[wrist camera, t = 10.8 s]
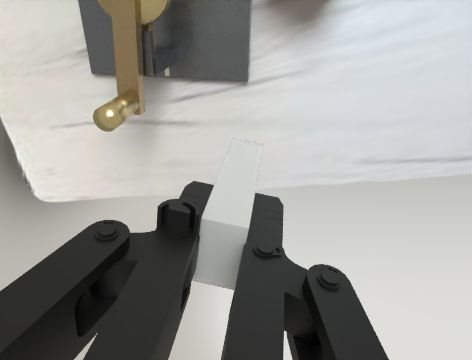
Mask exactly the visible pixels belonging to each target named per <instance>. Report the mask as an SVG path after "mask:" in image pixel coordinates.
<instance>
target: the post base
mask: <svg viewBox="0 0 472 360" xmlns="http://www.w3.org/2000/svg"><path fill="white" fill-rule="evenodd" d="M78 1H79V7H80V12H81V17H82V23H83V28H84V34H85V39H86V44H87V50H88V55H89V61H90V66H91V72H92V74H110V75H116V65H115V52H114V40H113V27H112V17H110V16H109V15H108V14H107V13H106V12H105V11H104V10H103V8H102V7H101V6H100V4H99V3H98V1H97V0H78ZM251 9H252V0H172V2H171V4H170V7H169V8H168V10H167V12H166V13H165V14H164V15H163V16H162V17H161V18H160V19H158V20H156V21H154V22H151V23H154V24H155V40H156V50H155V51H154V40H153V30H142V48H143V74H144V76H150V77H170V78H190V79H211V80H231V81H248V80H249V66H250V37H251Z"/></svg>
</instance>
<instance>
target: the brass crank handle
mask: <svg viewBox="0 0 472 360" xmlns="http://www.w3.org/2000/svg"><path fill="white" fill-rule="evenodd" d="M97 1H98V3H99V4H100V6H101V7H102V8H103V10H104V11H105V12H106V13H107V14H108V15H109V16H110V17H112V27H113V40H114V52H115V65H116V78H117V91H118V96H117V97H116V98H114V99H112V100H111V101H109V102H108V103H106V104H104V105H103V106H101V107H99V108H98V109H96V110H95V112H94V114H93V119H94V122H95V124H96V125H97V127H98V128H100V129H101V130H103V131H107V132H109V131H113V130H114V129H115V128H117V127H118V126H119V125H121V124H122V123H123V122H124V121H126V120H127V119H128V118H129V117H131V116H132V115H133V114H135V115H141V114H142V113H143V112H145V99H144V74H143V48H142V30H153V40H154V51H155V50H156V40H155V24H154V23H151V22H154V21H156V20H158V19H160V18H161V17H162V16H163V15H164V14H165V13H166V12H167V10H168V8H169V7H170V4H171V2H172V0H97Z"/></svg>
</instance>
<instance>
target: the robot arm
mask: <svg viewBox="0 0 472 360" xmlns="http://www.w3.org/2000/svg"><path fill="white" fill-rule="evenodd" d="M262 150H263V144H258V143H253V142H248V141H243V140H238V139H233V138H232V141H231V144H230V146H229V149H228V151H227V154H226V156H225V159H224V161H223V164H222V167H221V169H220V172H219V174H218V177H217V179H216V182H215V184H214V185H211V184H206V183H201V182H196V181H193V182H191V183H190V184H188V185H187V186H185V188H184V190H183V192H182V194H181V196H180V198H179V199H171V200H167V201H165V202H162V203H161V204H160V205H159V206H158V213H157V228H156V230H155V231H151V232H145V233H130V231H129V229H128V227H127V225H125V224H124V223H122V222H119V221H115V220H103V221H99V222H96V223H94V224H92V225H90V226H88V227H87V228H86V229H85V230H83V231H82V232H80V233H79V234H78V235H77V236H75V237H73V238H72V239H71V240H69V241H68V242H67V243H65V244H64V245H63V246H61V247H60V248H58V249H57V250H56V251H55V252H53V253H52V254H50V255H49V256H48V257H46V258H45V259H44V260H42V261H41V262H40V263H38V264H37V265H35V266H34V267H33V268H31V269H30V270H29V271H27V272H26V273H25V274H23V275H22V276H20V277H19V278H18V279H16V280H15V281H14V282H12V283H11V284H10V285H8V286H7V287H5V288H4V289H3V290H1V291H0V360H74V359H75V358H76V356H77V355H78V354H79V353H80V352H81V351H82V350H83V348H84V347H85V346H86V345H87V344H88V343H89V342H90V341H91V339H92V338H93V337H94V336H95V335H96V333H98V334H97V335H96V337H95V339H94V341H93V343H92V344H91V346H90V348H89V350H88V352H87V353H86V355H85V357H84V359H83V360H168V358H169V355H170V352H171V349H172V345H173V343H174V340H175V337H176V333H177V330H178V327H179V324H180V321H181V318H182V315H183V312H184V309H185V306H186V303H187V300H188V297H189V294H190V287H191V281H192V279H193V281H197V282H201V283H206V284H210V285H215V286H219V287H223V288H228V289H233V290H234V295H233V299H232V305H231V308H230V313H229V320H228V325H227V331H226V336H225V341H224V346H223V351H222V357H221V360H283V341H284V331H286V332H287V339H288V343H289V347H290V351H291V355H292V359H293V360H389V359H388V357H387V355H386V353H385V351H384V349H383V347H382V345H381V343H380V341H379V339H378V337H377V335H376V333H375V331H374V329H373V327H372V325H371V323H370V321H369V319H368V317H367V315H366V313H365V311H364V309H363V307H362V305H361V303H360V301H359V299H358V297H357V295H356V293H355V291H354V289H353V287H352V285H351V283H350V281H349V280H348V278H347V277H346V275H345V274H343V273H342V272H341V271H340V270H338V269H336V268H334V267H332V266H329V265H324V264H320V265H314V266H312V267H310V268H309V270H307V269H305V268H303V267H301V266H299V265H297V264H295V263H293V262H292V261H291V260H290V259H289V258H288V257H287V256H286V255H285V252H284V249H283V247H282V237H283V235H282V234H283V204H282V203H281V201H280V199H279V198H277V197H273V196H267V195H263V194H258V193H255V191H256V185H257V179H258V174H259V168H260V162H261V156H262ZM193 276H194V278H193Z"/></svg>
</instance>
